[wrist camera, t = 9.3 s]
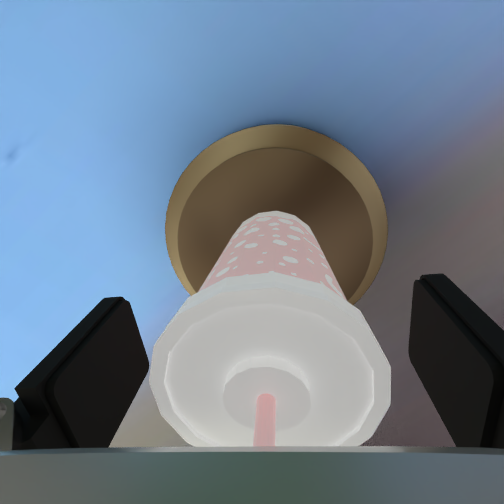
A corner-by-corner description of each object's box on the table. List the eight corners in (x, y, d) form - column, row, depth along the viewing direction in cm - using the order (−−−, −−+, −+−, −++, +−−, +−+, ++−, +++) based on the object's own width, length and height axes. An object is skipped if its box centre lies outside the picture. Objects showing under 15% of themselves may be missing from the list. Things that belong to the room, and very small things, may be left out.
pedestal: (412, 176, 18) (446, 191, 14) (315, 330, 23) (322, 371, 19) (218, 87, 17) (201, 78, 13) (159, 267, 22) (134, 297, 18)
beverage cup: (325, 308, 17) (462, 874, 4) (215, 300, 17) (37, 795, 5) (342, 198, 15) (773, 740, 2) (214, 191, 15) (-162, 599, 2)
